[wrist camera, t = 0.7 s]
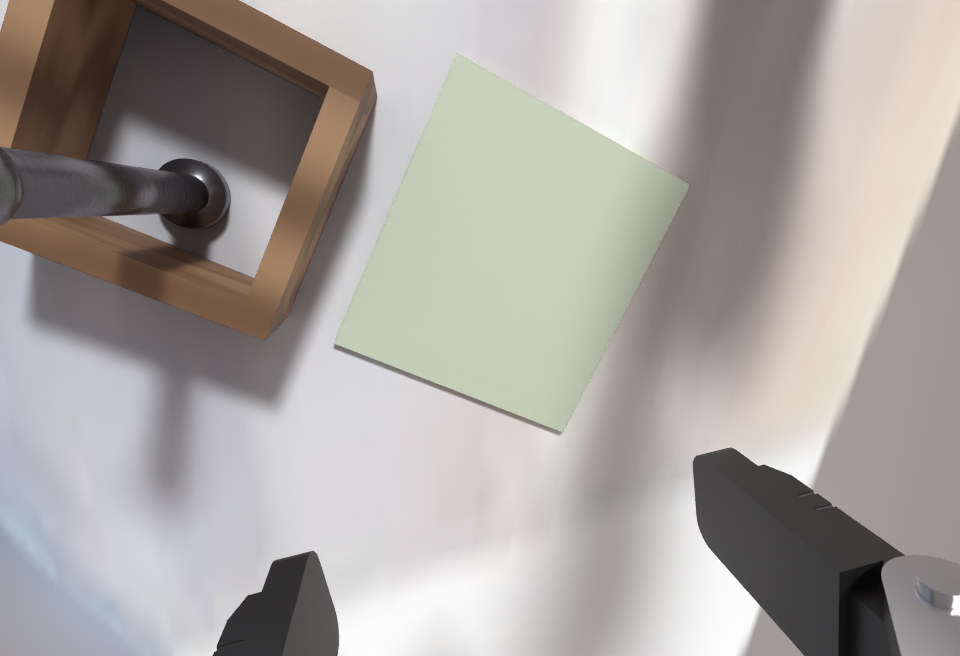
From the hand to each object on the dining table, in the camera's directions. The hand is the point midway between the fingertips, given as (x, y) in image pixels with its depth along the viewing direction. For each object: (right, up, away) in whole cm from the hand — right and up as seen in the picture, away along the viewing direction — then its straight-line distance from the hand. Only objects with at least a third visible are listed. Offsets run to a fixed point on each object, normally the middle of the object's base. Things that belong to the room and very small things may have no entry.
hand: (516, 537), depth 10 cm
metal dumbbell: (-18, +13, +20) cm, 30 cm away
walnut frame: (-17, +15, +20) cm, 30 cm away
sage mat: (+2, +9, +24) cm, 26 cm away
